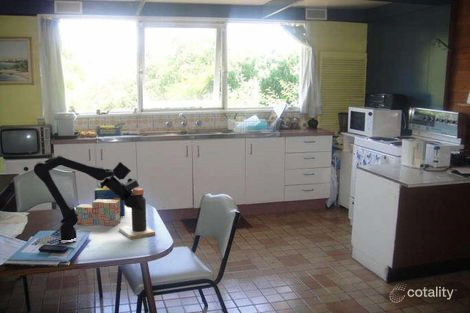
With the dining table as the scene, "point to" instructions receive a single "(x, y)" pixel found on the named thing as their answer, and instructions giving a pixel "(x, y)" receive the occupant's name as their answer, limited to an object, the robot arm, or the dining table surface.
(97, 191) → the protein box
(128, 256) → the dining table surface
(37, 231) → the dining table surface
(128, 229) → the white flat block
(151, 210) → the dining table surface
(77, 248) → the dining table surface
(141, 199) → the vinegar
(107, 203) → the stack of blocks
